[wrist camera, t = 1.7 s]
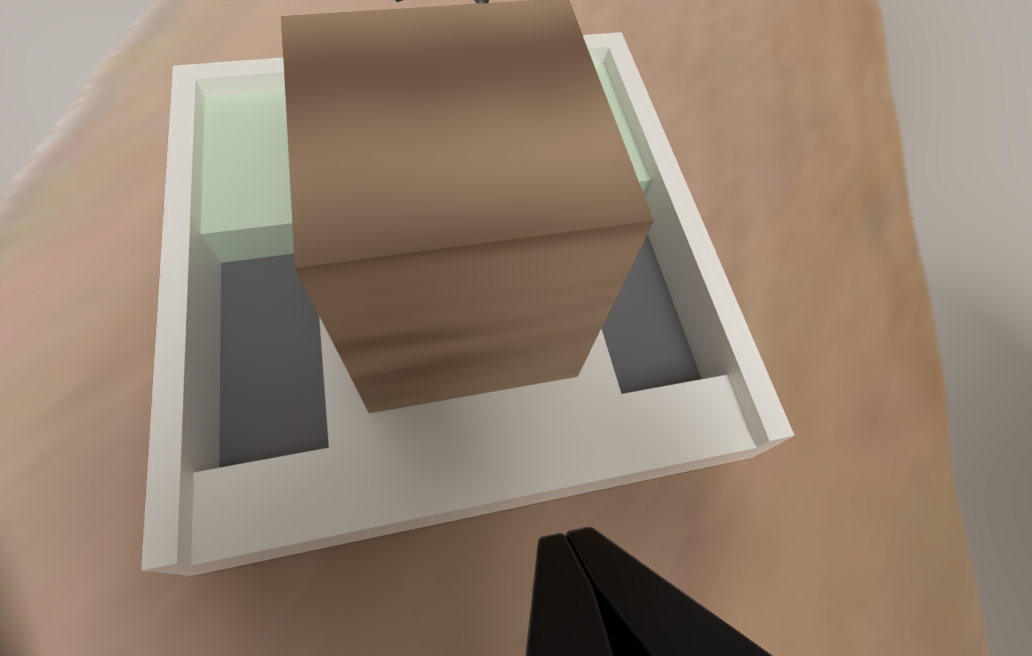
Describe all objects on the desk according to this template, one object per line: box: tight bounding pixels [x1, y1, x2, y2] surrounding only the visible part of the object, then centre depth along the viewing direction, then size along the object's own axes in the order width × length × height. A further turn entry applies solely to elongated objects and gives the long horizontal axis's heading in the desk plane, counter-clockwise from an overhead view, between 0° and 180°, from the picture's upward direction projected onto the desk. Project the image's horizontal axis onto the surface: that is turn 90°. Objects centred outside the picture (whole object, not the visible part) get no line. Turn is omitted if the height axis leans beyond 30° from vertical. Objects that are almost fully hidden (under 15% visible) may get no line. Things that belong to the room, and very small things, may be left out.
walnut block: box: [281, 0, 654, 413], centre depth 19 cm, size 8×8×10 cm
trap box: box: [141, 32, 794, 576], centre depth 25 cm, size 22×22×4 cm
